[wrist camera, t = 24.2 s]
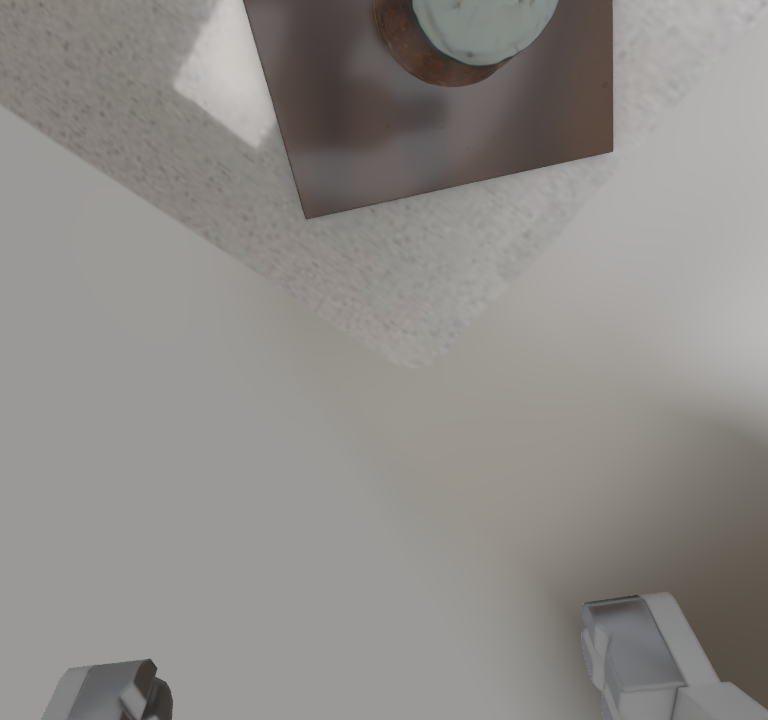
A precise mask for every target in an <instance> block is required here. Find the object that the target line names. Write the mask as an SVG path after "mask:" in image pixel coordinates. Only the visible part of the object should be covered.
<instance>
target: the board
mask: <svg viewBox="0 0 768 720" xmlns="http://www.w3.org/2000/svg"><path fill="white" fill-rule="evenodd" d="M243 2H244V5H245V8H246V12H247V15H248V19H249V22H250V26H251V29H252V33H253V36H254V40H255V43H256V47H257V50H258V54H259V57H260V61H261V64H262V68H263V71H264V75H265V78H266V82H267V85H268V89H269V92H270V96H271V99H272V103H273V106H274V110H275V113H276V117H277V120H278V124H279V127H280V131H281V134H282V138H283V141H284V145H285V148H286V152H287V155H288V159H289V162H290V165H291V169H292V172H293V176H294V179H295V183H296V186H297V190H298V193H299V197H300V200H301V204H302V207H303V211H304V214H305V218H306V219H310V218H315V217H319V216H324V215H329V214H333V213H338V212H342V211H347V210H351V209H356V208H360V207H365V206H369V205H374V204H378V203H383V202H387V201H392V200H396V199H401V198H405V197H410V196H414V195H419V194H423V193H428V192H433V191H437V190H442V189H446V188H451V187H455V186H460V185H464V184H469V183H473V182H478V181H482V180H487V179H491V178H496V177H500V176H505V175H509V174H514V173H518V172H523V171H527V170H532V169H537V168H541V167H546V166H550V165H555V164H559V163H564V162H568V161H573V160H577V159H582V158H586V157H591V156H595V155H600V154H604V153H609V152H613V15H612V0H559V2H558V4H557V6H556V9H555V13H554V16H553V17H552V19H551V20H550V22H549V23H548V25H547V26H546V28H545V29H544V32H543V34H541V35H540V37H539V38H538V39H537V40H536V41H535V42H534V43H533V44H531V45H530V46H529V47H528V48H527V49H525V50H523V51H521V52H520V53H519V54H517V55H516V56H514V57H513V58H511V59H510V61H509V62H507V63H506V64H505V65H504V66H502V67H501V68H499V69H498V70H497V71H496V72H495V73H494V74H492V75H491V76H490V77H488V78H487V79H485V80H482V81H481V82H478V83H475V84H471V85H467V86H462V87H446V86H437V85H433V84H428V83H426V82H424V81H421V80H419V79H418V78H417V77H415V76H413V75H411V74H409V73H408V72H406V71H405V70H404V69H403V68H401V67H400V66H399V65H398V63H397V62H396V61H395V60H394V59H393V57H392V56H391V55H390V53H389V52H388V50H387V48H386V47H385V45H384V43H383V41H382V38H381V36H380V33H379V30H378V26H377V23H376V18H375V11H374V0H243Z"/></svg>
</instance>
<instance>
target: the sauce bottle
mask: <svg viewBox="0 0 768 720" xmlns="http://www.w3.org/2000/svg"><path fill="white" fill-rule="evenodd" d="M558 2H559V0H374V11H375V18H376V23H377V26H378V30H379V33H380V36H381V38H382V41H383V43H384V45H385V47H386V48H387V50H388V52H389V53H390V55H391V56H392V57H393V59H394V60H395V61H396V62H397V63H398V65H399V66H400V67H401V68H403V69H404V70H405V71H406V72H408V73H409V74H411V75H413V76H415V77H417V78H418V79H419V80H421V81H424V82H426V83H428V84H433V85H437V86H446V87H462V86H467V85H471V84H475V83H478V82H481V81H482V80H485V79H487V78H488V77H490V76H491V75H492V74H494V73H495V72H496V71H497V70H498V69H499V68H501V67H502V66H504V65H505V64H506V63H507V62H509V61H510V59H511V58H513V57H514V56H516V55H517V54H519V53H520V52H521V51H523V50H525V49H527V48H528V47H529V46H530V45H531V44H533V43H534V42H535V41H536V40H537V39H538V38H539V37H540V35H541V34H543V32H544V29H545V28H546V26H547V25H548V23H549V22H550V20H551V19H552V17H553V16H554V13H555V9H556V6H557V4H558Z"/></svg>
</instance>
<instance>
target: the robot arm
mask: <svg viewBox="0 0 768 720" xmlns="http://www.w3.org/2000/svg"><path fill="white" fill-rule="evenodd" d="M582 616H583V619H584V622H585V624H586V626H585V627H584V628H583V629H582V630H581V631H582V647H583V653H584V658H585V662H586V665H587V669H588V672H589V675H590V678H591V681H592V684H593V685H594V686H595V687H596V688H597V689H599V690H600V691H601V692H602V693H603V694H602V712H603V715H604V718H605V720H768V710H766V709H765V708H764V707H763V706H761V705H760V704H759V703H757V702H756V701H755V700H753V699H752V698H751V697H749V696H748V695H747V694H745V693H744V692H743V691H741V690H740V689H739V688H737V687H736V686H735V685H733V684H732V683H731V682H720V680H719V678H718V676H717V674H716V673H715V671H714V669H713V667H712V665H711V663H710V662H709V660H708V658H707V656H706V655H705V653H704V651H703V649H702V647H701V645H700V644H699V642H698V640H697V638H696V636H695V634H694V633H693V631H692V629H691V627H690V625H689V624H688V622H687V620H686V618H685V616H684V615H683V613H682V611H681V609H680V607H679V605H678V604H677V602H676V600H675V598H674V597H673V596H672V595H671V594H670V593H668V592H661V593H654V594H647V595H640V596H638V595H634V596H627V597H621V598H615V599H607V600H600V601H593V602H586V603H584V604H583V606H582ZM156 671H157V667H156V666H155V664H154V663H153V662H152V660H151V659H145V660H136V661H127V662H119V663H111V664H102V665H91V666H83V667H77V668H69V669H68V670H67V671H66V672H65V674H64V675H63V676H62V677H61V678H60V680H59V682H58V684H57V687H56V689H55V691H54V693H53V695H52V697H51V699H50V701H49V704H48V706H47V708H46V710H45V712H44V714H43V717H42V718H41V720H172V708H173V699H172V695H171V691H170V688H169V686H168V685H167V683H166V682H165V681H163V680H161V679H159V678H157V677H155V675H156Z"/></svg>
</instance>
